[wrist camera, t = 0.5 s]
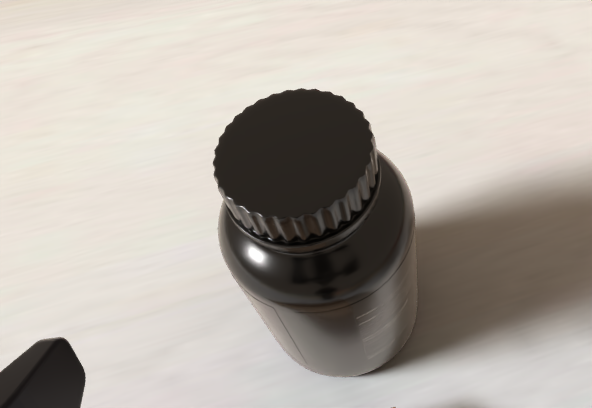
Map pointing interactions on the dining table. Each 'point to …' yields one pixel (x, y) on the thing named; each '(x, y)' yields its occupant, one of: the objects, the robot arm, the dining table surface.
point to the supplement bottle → (318, 231)
